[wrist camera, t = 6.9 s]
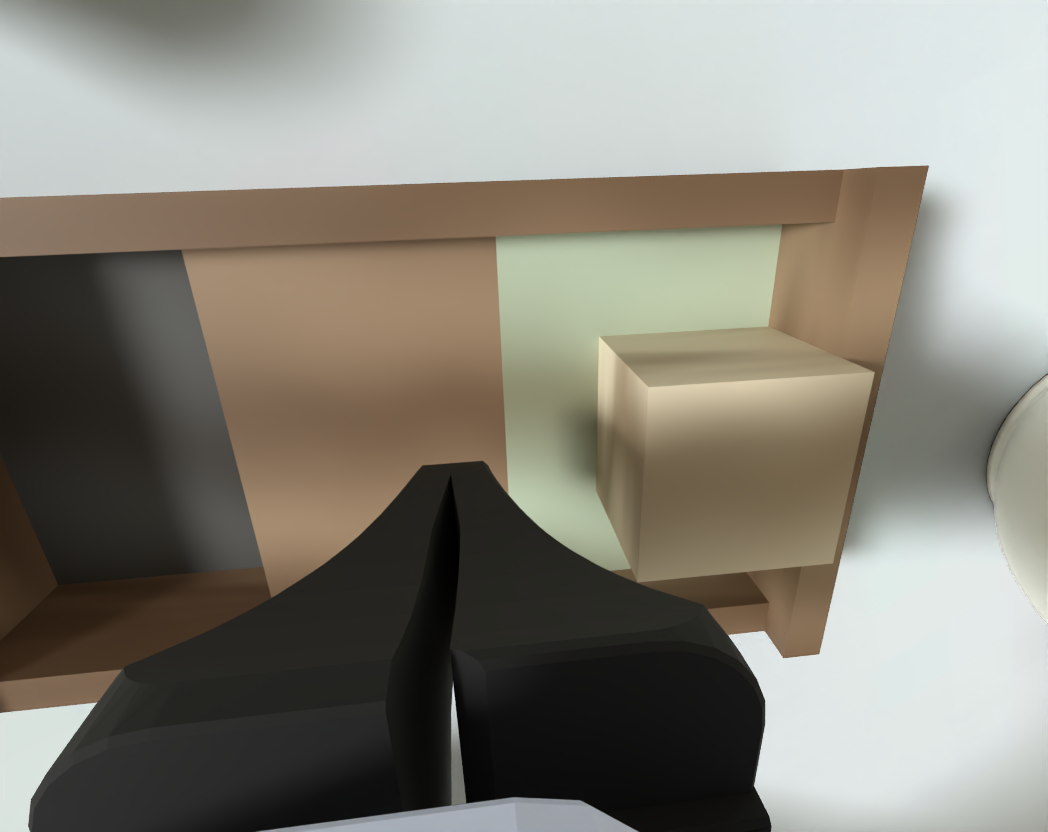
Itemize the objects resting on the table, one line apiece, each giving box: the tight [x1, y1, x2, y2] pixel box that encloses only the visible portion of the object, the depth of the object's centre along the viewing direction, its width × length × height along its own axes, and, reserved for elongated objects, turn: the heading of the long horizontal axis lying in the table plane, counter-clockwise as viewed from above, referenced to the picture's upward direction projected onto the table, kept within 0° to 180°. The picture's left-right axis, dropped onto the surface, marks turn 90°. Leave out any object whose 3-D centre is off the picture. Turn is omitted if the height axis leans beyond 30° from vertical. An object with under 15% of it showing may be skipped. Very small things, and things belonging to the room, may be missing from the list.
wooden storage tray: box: [0, 166, 929, 713], centre depth 14 cm, size 12×23×5 cm, turn 92°
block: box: [596, 326, 875, 582], centre depth 13 cm, size 4×4×4 cm
